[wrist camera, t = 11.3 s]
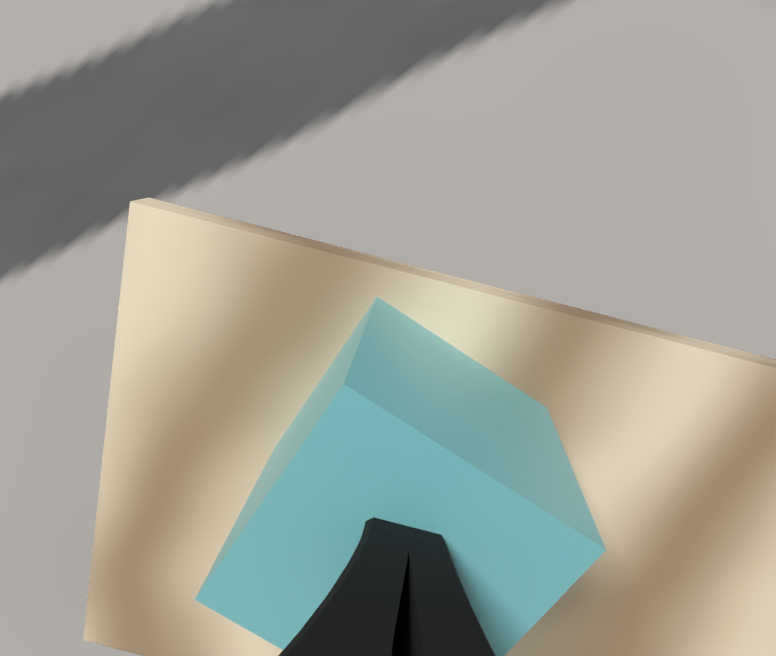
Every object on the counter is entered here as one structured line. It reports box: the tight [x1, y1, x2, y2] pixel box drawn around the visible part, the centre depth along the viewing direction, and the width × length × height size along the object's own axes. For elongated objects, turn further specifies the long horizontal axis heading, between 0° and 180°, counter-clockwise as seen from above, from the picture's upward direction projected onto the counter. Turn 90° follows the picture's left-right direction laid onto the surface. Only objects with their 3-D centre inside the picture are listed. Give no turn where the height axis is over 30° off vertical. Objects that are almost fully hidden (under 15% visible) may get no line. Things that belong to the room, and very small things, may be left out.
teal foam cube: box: [195, 297, 606, 656], centre depth 13 cm, size 5×5×6 cm
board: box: [83, 198, 776, 656], centre depth 15 cm, size 20×14×5 cm
